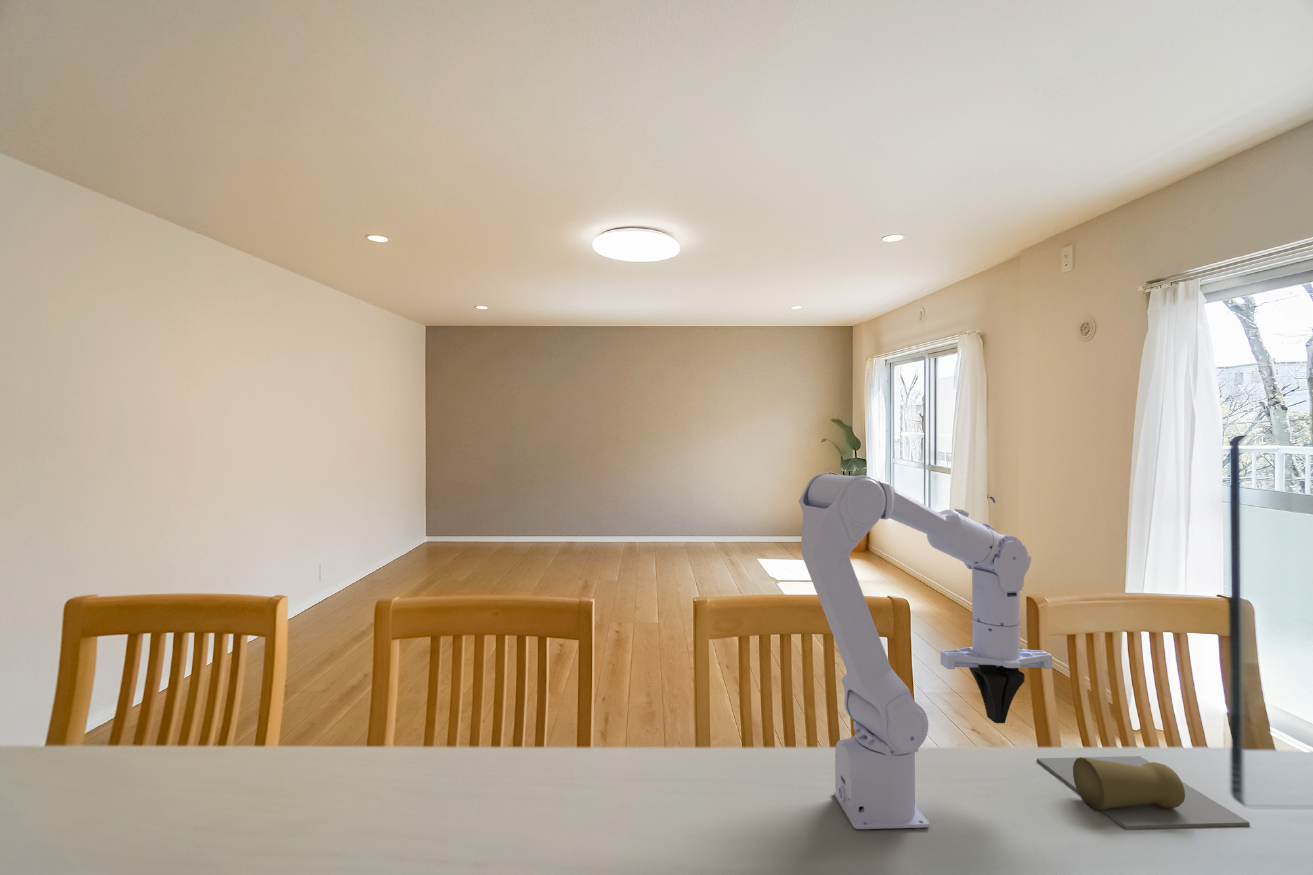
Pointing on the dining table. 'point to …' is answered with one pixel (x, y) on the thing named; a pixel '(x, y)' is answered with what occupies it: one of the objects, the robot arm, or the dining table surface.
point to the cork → (1126, 784)
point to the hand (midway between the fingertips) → (996, 720)
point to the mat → (1188, 814)
